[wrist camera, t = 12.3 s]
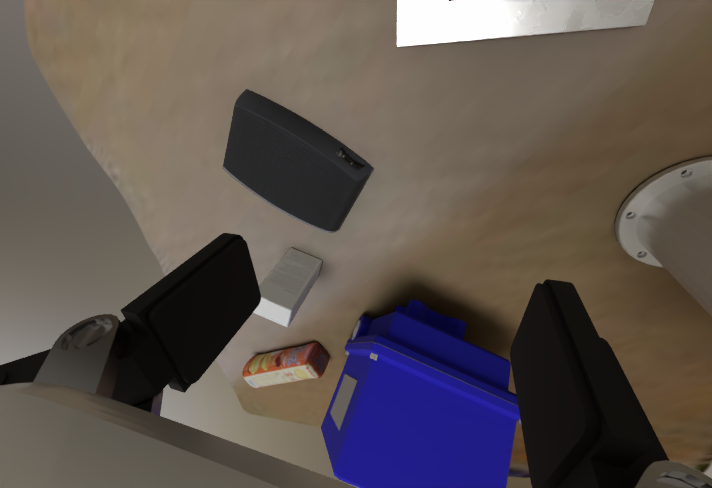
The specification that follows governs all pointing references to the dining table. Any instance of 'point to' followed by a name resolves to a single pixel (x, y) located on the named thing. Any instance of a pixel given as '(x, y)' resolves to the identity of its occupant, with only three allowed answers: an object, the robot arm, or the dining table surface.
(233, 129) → the external hard drive
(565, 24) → the plate
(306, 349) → the snack package
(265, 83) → the dining table surface
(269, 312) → the skincare box
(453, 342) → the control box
